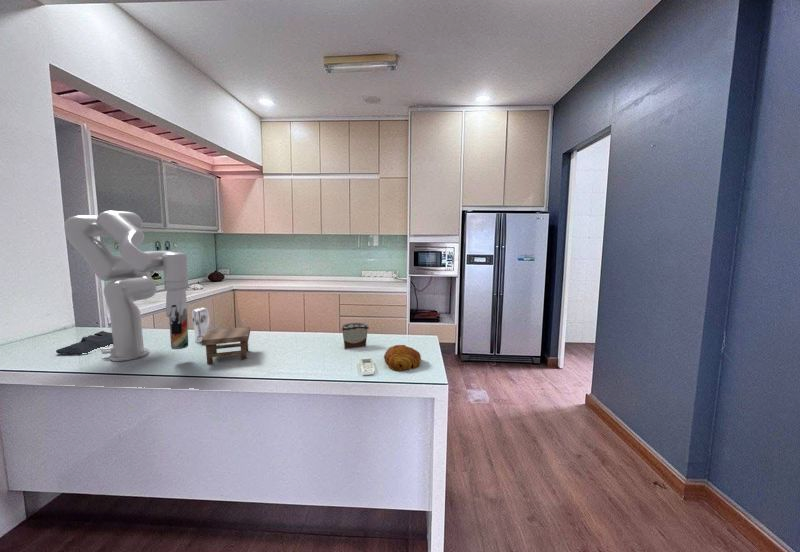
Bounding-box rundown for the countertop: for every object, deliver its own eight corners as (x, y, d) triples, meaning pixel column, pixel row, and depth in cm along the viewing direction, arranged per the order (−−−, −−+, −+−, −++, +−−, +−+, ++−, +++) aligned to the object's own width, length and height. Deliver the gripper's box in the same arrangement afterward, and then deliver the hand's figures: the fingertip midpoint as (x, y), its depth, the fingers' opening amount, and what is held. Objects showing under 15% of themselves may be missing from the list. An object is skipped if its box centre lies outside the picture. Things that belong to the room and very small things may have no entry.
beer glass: (214, 338, 160) (212, 307, 158) (204, 343, 153) (202, 311, 151) (200, 338, 161) (198, 307, 159) (190, 342, 154) (187, 310, 152)
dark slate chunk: (47, 357, 137) (46, 345, 137) (94, 339, 159) (92, 330, 158) (86, 356, 138) (85, 345, 137) (127, 339, 160) (126, 329, 159)
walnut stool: (203, 365, 128) (201, 340, 126) (209, 353, 141) (207, 330, 139) (249, 360, 133) (247, 336, 132) (251, 349, 146) (250, 326, 145)
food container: (366, 342, 156) (365, 321, 155) (369, 346, 150) (369, 324, 149) (339, 345, 152) (339, 323, 151) (341, 349, 146) (341, 327, 145)
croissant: (382, 376, 125) (381, 357, 122) (386, 355, 139) (385, 338, 137) (421, 376, 124) (421, 357, 121) (421, 355, 139) (420, 338, 136)
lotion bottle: (185, 349, 129) (183, 298, 126) (168, 350, 127) (165, 298, 125) (190, 344, 134) (188, 295, 132) (174, 345, 133) (171, 295, 130)
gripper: (171, 281, 134) (173, 325, 137) (157, 289, 118) (160, 339, 121) (192, 281, 137) (194, 324, 139) (182, 288, 121) (184, 337, 123)
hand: (179, 330), depth 130 cm, fingers closed on lotion bottle, 5 cm apart
